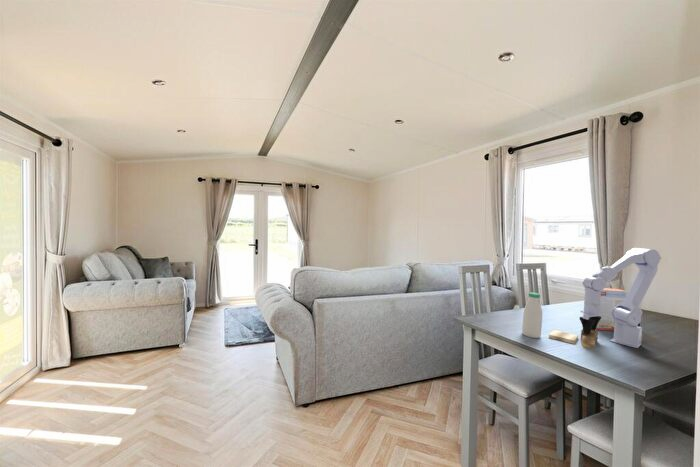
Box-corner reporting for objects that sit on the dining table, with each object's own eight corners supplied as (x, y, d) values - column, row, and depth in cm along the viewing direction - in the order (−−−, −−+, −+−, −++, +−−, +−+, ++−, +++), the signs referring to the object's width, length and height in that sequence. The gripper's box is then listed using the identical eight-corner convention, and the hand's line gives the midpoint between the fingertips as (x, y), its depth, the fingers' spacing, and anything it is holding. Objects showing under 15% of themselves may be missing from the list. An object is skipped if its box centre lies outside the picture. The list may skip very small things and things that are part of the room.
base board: (577, 338, 150) (578, 335, 150) (574, 344, 143) (575, 340, 143) (552, 332, 157) (553, 329, 157) (548, 337, 150) (549, 334, 150)
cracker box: (615, 328, 170) (618, 288, 169) (624, 331, 164) (627, 291, 163) (587, 325, 171) (590, 286, 170) (594, 329, 165) (597, 289, 164)
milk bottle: (543, 339, 147) (546, 295, 146) (525, 337, 149) (528, 294, 148) (537, 333, 155) (540, 292, 154) (519, 331, 156) (522, 290, 155)
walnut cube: (597, 341, 148) (598, 330, 148) (593, 343, 145) (594, 332, 144) (584, 338, 152) (585, 327, 151) (580, 340, 149) (581, 329, 148)
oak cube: (592, 346, 142) (593, 337, 142) (594, 349, 138) (595, 339, 138) (581, 344, 144) (581, 335, 143) (583, 347, 140) (583, 338, 140)
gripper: (586, 299, 155) (584, 327, 156) (576, 302, 146) (573, 332, 147) (604, 302, 149) (602, 331, 150) (595, 306, 140) (592, 337, 141)
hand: (589, 332), depth 148 cm, fingers open, 7 cm apart
